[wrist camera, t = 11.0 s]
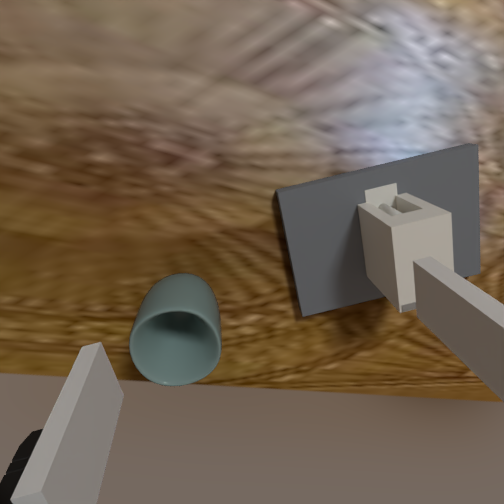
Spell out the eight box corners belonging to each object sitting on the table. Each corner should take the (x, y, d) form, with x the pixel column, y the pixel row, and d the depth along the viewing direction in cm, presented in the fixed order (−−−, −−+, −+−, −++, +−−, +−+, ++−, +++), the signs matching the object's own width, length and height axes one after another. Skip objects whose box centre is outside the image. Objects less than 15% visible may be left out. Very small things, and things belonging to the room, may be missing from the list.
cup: (208, 254, 42) (207, 297, 32) (227, 318, 45) (232, 374, 35) (136, 273, 42) (114, 322, 32) (159, 335, 44) (146, 397, 35)
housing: (366, 276, 43) (400, 313, 35) (357, 204, 40) (391, 227, 32) (412, 265, 43) (455, 299, 35) (406, 192, 40) (452, 212, 32)
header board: (299, 310, 45) (312, 339, 39) (275, 189, 40) (285, 203, 34) (472, 268, 45) (508, 291, 40) (468, 143, 40) (510, 149, 35)
